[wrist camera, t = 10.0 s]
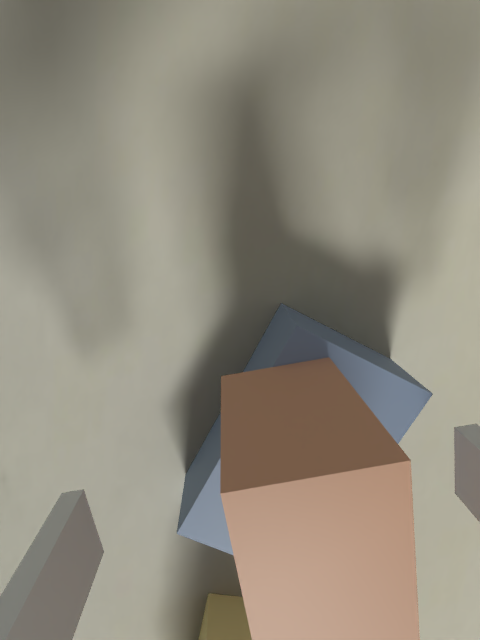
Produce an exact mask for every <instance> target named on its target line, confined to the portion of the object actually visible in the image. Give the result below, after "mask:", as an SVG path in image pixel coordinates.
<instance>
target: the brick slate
mask: <svg viewBox="0 0 480 640" xmlns="http://www.w3.org/2000/svg"><path fill="white" fill-rule="evenodd" d="M327 357H329V358H330V359H331V360H332V361H333V363H334V364H335V365H336V366H337V368H338V369H339V370H340V371H341V373H342V374H343V375H344V377H345V378H346V379H347V380H348V382H349V383H350V384H351V385H352V387H353V388H354V389H355V391H356V392H357V393H358V394H359V396H360V397H361V398H362V399H363V401H364V402H365V403H366V404H367V406H368V407H369V408H370V410H371V411H372V412H373V413H374V415H375V416H376V417H377V418H378V420H379V421H380V422H381V423H382V425H383V426H384V427H385V429H386V430H387V431H388V432H389V434H390V435H391V436H392V437H393V439H394V440H395V441H396V443H397V444H398V443H399V442H400V440H401V439H402V437H403V436H404V434H405V433H406V432H407V430H408V429H409V427H410V426H411V424H412V423H413V422H414V420H415V419H416V417H417V416H418V414H419V413H420V412H421V410H422V409H423V407H424V406H425V404H426V403H427V401H428V400H429V399H430V397H431V396H432V393H431V392H430V391H429V390H427V389H426V388H425V387H424V386H423V385H421V384H420V383H419V382H418V381H417V380H415V379H414V378H413V377H412V376H411V375H409V374H408V373H407V372H406V371H404V370H403V369H402V368H401V367H400V366H398V365H397V364H396V363H395V362H394V361H392V360H391V359H390V358H388V357H386V356H384V355H382V354H380V353H378V352H376V351H374V350H372V349H370V348H368V347H366V346H364V345H362V344H360V343H358V342H356V341H354V340H352V339H350V338H348V337H347V336H345V335H343V334H341V333H339V332H337V331H335V330H333V329H331V328H329V327H327V326H325V325H323V324H321V323H319V322H317V321H315V320H313V319H311V318H309V317H307V316H305V315H303V314H301V313H300V312H298V311H296V310H294V309H292V308H290V307H288V306H286V305H284V304H282V303H281V304H280V306H279V308H278V310H277V311H276V313H275V315H274V317H273V319H272V320H271V322H270V324H269V326H268V328H267V329H266V331H265V333H264V335H263V337H262V338H261V340H260V342H259V344H258V346H257V347H256V349H255V351H254V353H253V355H252V356H251V358H250V360H249V362H248V364H247V365H246V367H245V369H244V371H243V372H247V371H253V370H259V369H264V368H270V367H276V366H282V365H287V364H293V363H299V362H305V361H310V360H316V359H322V358H327ZM220 465H221V412H220V414H219V416H218V417H217V419H216V421H215V423H214V425H213V426H212V428H211V430H210V432H209V434H208V435H207V437H206V439H205V441H204V443H203V444H202V446H201V448H200V450H199V451H198V453H197V455H196V457H195V459H194V460H193V462H192V464H191V466H190V468H189V469H188V471H187V473H186V476H185V482H184V489H183V495H182V502H181V509H180V515H179V522H178V529H177V534H179V535H181V536H184V537H186V538H189V539H192V540H194V541H197V542H200V543H202V544H205V545H208V546H210V547H213V548H215V549H218V550H221V551H223V552H226V553H229V554H231V555H233V550H232V545H231V541H230V536H229V531H228V527H227V522H226V518H225V513H224V508H223V504H222V499H221V495H220Z"/></svg>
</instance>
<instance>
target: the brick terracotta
mask: <svg viewBox="0 0 480 640" xmlns="http://www.w3.org/2000/svg"><path fill="white" fill-rule="evenodd" d="M220 495H221V499H222V504H223V508H224V513H225V518H226V522H227V527H228V531H229V536H230V541H231V545H232V550H233V555H234V559H235V564H236V568H237V573H238V578H239V582H240V587H241V591H242V596H243V601H244V605H245V610H246V614H247V619H248V624H249V628H250V633H251V638H252V640H420V635H419V616H418V596H417V576H416V557H415V537H414V517H413V498H412V478H411V460H410V459H409V458H408V456H407V455H406V454H405V453H404V451H403V450H402V449H401V448H400V446H399V445H398V444H397V443H396V441H395V440H394V439H393V437H392V436H391V435H390V434H389V432H388V431H387V430H386V429H385V427H384V426H383V425H382V423H381V422H380V421H379V420H378V418H377V417H376V416H375V415H374V413H373V412H372V411H371V410H370V408H369V407H368V406H367V404H366V403H365V402H364V401H363V399H362V398H361V397H360V396H359V394H358V393H357V392H356V391H355V389H354V388H353V387H352V385H351V384H350V383H349V382H348V380H347V379H346V378H345V377H344V375H343V374H342V373H341V371H340V370H339V369H338V368H337V366H336V365H335V364H334V363H333V361H332V360H331V359H330V358H329V357H327V358H322V359H316V360H310V361H305V362H299V363H293V364H287V365H282V366H276V367H270V368H264V369H259V370H253V371H247V372H242V373H236V374H230V375H224V376H221V465H220Z"/></svg>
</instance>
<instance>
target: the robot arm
mask: <svg viewBox="0 0 480 640" xmlns="http://www.w3.org/2000/svg"><path fill="white" fill-rule="evenodd" d="M454 449H455V494H456V495H457V496H458V497H459V498H460V500H461V501H462V502H463V503H464V504H465V506H466V507H467V508H468V509H469V510H470V511H471V513H472V514H473V515H474V516H475V517H476V518H477V520H478V521H479V522H480V427H479V426H478V425H477V424H472V425H466V426H460V427H454ZM103 553H104V550H103V547H102V544H101V541H100V538H99V535H98V532H97V529H96V526H95V523H94V520H93V517H92V514H91V510H90V507H89V504H88V501H87V498H86V495H85V492H84V489H83V490H77V491H71V492H66V493H62V494H61V496H60V497H59V499H58V501H57V502H56V504H55V506H54V507H53V509H52V511H51V512H50V514H49V516H48V517H47V519H46V521H45V522H44V524H43V526H42V527H41V529H40V531H39V533H38V534H37V536H36V538H35V539H34V541H33V543H32V544H31V546H30V548H29V549H28V551H27V553H26V554H25V556H24V558H23V559H22V561H21V563H20V564H19V566H18V568H17V569H16V571H15V573H14V575H13V576H12V578H11V580H10V581H9V583H8V585H7V586H6V588H5V590H4V591H3V593H2V595H1V596H0V640H72V639H73V636H74V633H75V630H76V627H77V625H78V622H79V619H80V616H81V614H82V611H83V608H84V605H85V603H86V600H87V597H88V594H89V592H90V589H91V586H92V583H93V581H94V578H95V575H96V572H97V570H98V567H99V564H100V561H101V559H102V556H103Z"/></svg>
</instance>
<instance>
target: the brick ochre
mask: <svg viewBox="0 0 480 640" xmlns="http://www.w3.org/2000/svg"><path fill="white" fill-rule="evenodd" d="M198 640H252V638H251V633H250V628H249V624H248V619H247V614H246V610H245V605H244V601H243V597H238V596H229V595H219V594H210V593H208V597H207V602H206V607H205V611H204V616H203V621H202V625H201V630H200V634H199V639H198Z"/></svg>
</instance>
